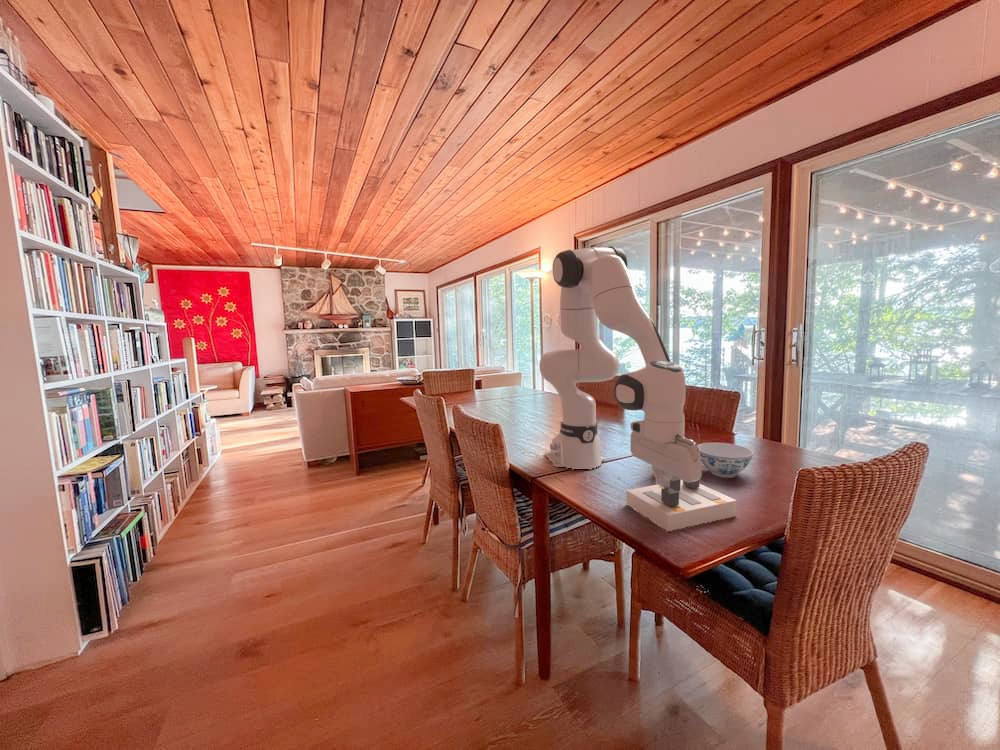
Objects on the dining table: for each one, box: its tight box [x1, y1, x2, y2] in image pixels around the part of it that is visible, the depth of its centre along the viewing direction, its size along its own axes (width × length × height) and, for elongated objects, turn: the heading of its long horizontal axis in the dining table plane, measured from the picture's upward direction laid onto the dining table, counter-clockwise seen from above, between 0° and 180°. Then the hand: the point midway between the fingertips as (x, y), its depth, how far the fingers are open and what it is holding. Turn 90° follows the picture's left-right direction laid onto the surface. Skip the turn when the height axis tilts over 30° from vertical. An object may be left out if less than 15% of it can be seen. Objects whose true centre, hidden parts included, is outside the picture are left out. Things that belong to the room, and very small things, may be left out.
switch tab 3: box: [683, 479, 700, 489], centre depth 103 cm, size 3×2×3 cm
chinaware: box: [697, 442, 754, 479], centre depth 122 cm, size 15×15×8 cm
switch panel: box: [626, 480, 738, 530], centre depth 99 cm, size 15×20×4 cm
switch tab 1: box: [668, 476, 681, 491], centre depth 101 cm, size 3×2×3 cm
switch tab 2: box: [661, 488, 679, 506], centre depth 93 cm, size 3×2×3 cm
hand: (662, 485), depth 96 cm, fingers closed
